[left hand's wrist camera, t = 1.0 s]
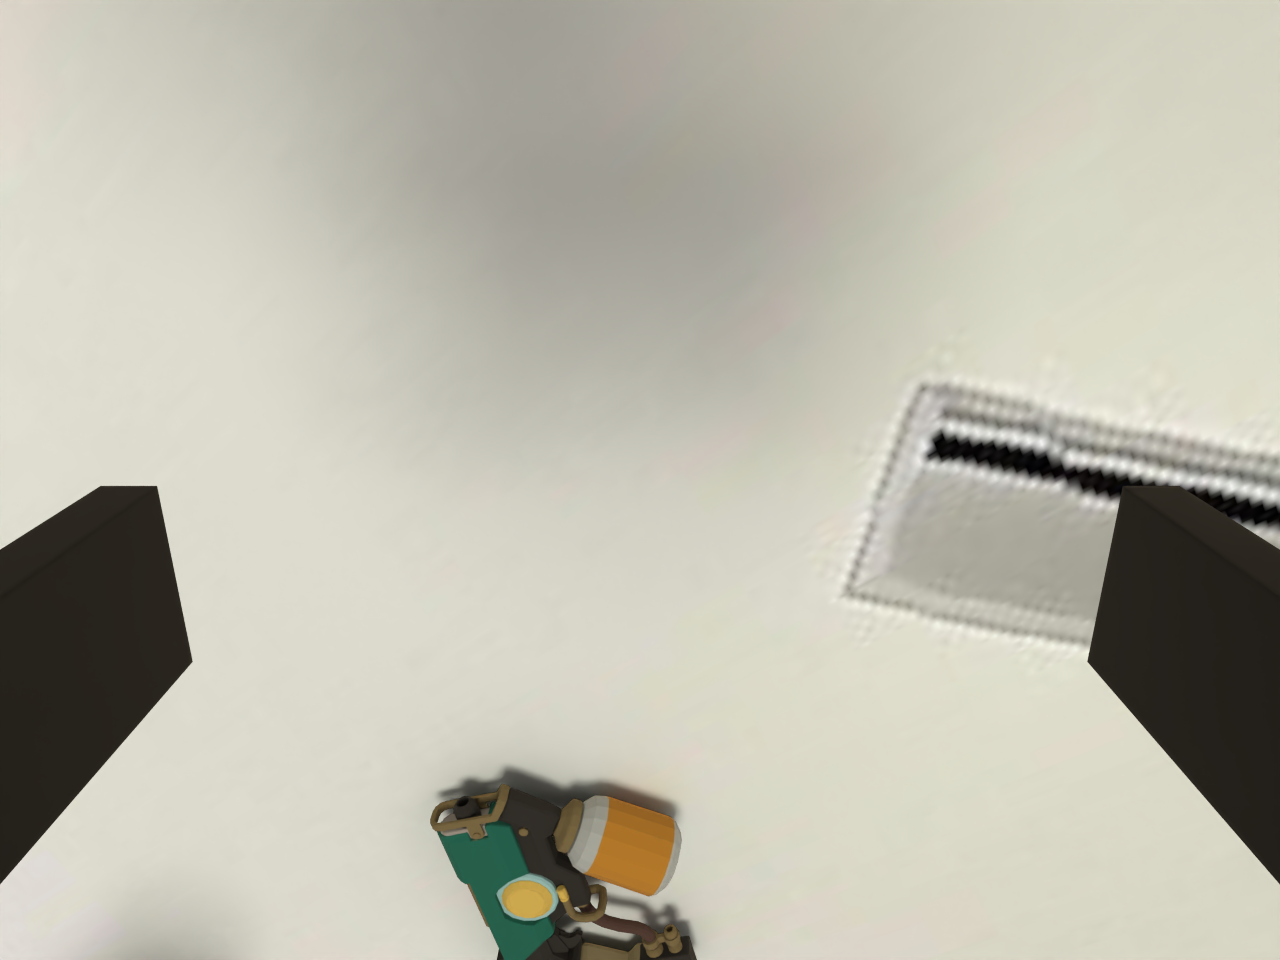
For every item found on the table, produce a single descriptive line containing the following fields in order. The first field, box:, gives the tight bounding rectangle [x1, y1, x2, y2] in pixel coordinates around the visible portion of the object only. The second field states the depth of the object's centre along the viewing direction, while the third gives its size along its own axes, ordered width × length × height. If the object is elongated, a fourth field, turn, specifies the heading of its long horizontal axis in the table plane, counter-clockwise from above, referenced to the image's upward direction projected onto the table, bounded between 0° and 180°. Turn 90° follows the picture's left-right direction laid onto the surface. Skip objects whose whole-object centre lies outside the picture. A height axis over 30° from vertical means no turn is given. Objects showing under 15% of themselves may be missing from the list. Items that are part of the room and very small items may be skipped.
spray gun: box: [430, 784, 697, 960], centre depth 51 cm, size 4×17×15 cm
